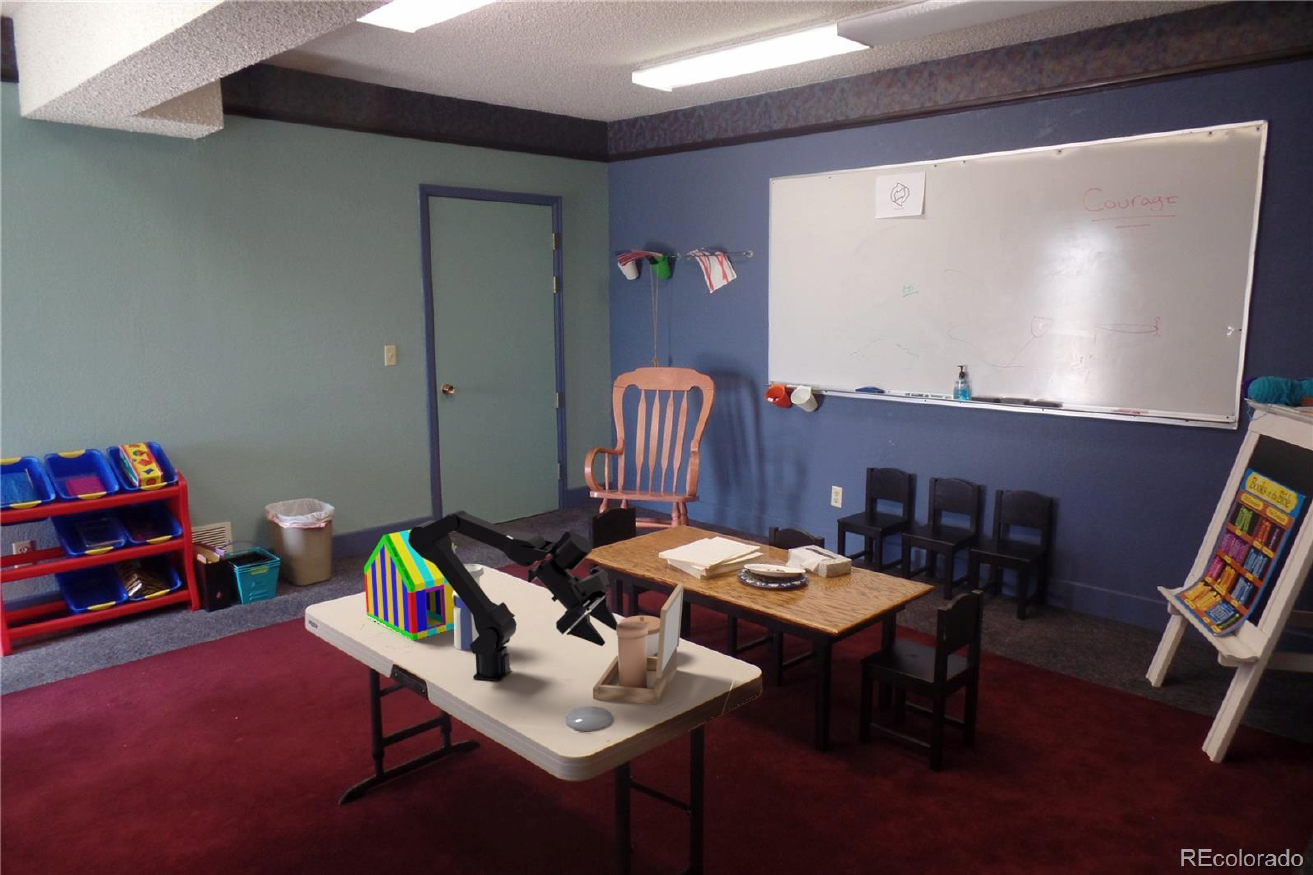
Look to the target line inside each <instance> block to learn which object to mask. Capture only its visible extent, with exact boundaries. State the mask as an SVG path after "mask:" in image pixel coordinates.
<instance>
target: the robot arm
mask: <svg viewBox="0 0 1313 875" xmlns="http://www.w3.org/2000/svg"><path fill="white" fill-rule="evenodd" d="M410 530H411V531H410V533H409V539H408V542H409V544H410V546H411V547H412V548H413V549H414V550H415V551H416V552H417V553H418V554H419V555H420V556H421V557H422V558H424V559H426V560H428V561H430V562H432V563H433V564H435V565H436V567H437V568H438V569H439V571H440V572H441V573H442V575H443V576H444V577H445V579H446V580H447V581H448V583H449V584H450V585H451V587H452V588H453V589H454V591H455V592H456V593H457V595H458V596H459V597H460V599H461V600H462V601H463V603H464V604H465V605H466V607H467V608H468V609H469V611H470V612H471V613H472V615H473V618H474V624H475V629H476V631H477V633H478V634H479V636H478V637H477V638H476V639H475V640H474V641H473V642H472V643H471V644H470V647H471V650H470V651H471V653H472V654H473V655H475V669H476V670H475V672H476V673H475V674H474V675H473V676H472V678H473V679H475V680H485V681H497V682H499V681H502V680H503V679H504V677H506V676H507V674H508V673H510V671H512V668H511V665H510V663H511V662H510V653H508V646H507V645H506V644H509V643H510V640H511V637H513V636H514V634H515V633H516V631H517V625H518V624H517V621H516V620H515V618H514V617H515V616H516V615H515V613H512V611H510V609H509V607H508V606H507V604H506V603H505V602H503V601H502V602H501V603H499V604H497V603H496V602H493V601H492V600H491V599H490V598H489V597H488V595H486V593H485V592H484V590H483V588H482V587H481V585H480V586H479V585H478V584H477V582H476V581H475V580H474V578H473V577H472V576H471V574H470V573H469V572H468V570H467V569H466V568H465V566H464V565H463V564H464V563H462V561H461V560H460V559H459V557H458V556H457V555H456V552H455V553H454V552H453V550H452V539H451V537H450V534H451V533H453V532H455V533H458V534H460V535H463V536H465V537H468V538H470V539H472V540H475V541H477V542H480V543H482V544H485V545H488V546H490V547H492V548H495V549H497V550H499V551H501V552H502V553H503V554H504V555H505V556H506V557H507V558H508V559H509V560H510V561H512V562H514V563H515V564H516V565H519V566H520V567H522V568H523V567H525V568H527V567H528V568H529V567H530V566H532V565H535V564H536V563H537V562H539V561H540V563H539V564H538V565H537V566H536V567H531V568H529V569H527V574H528V576H527V582H528V584H530V583H532V582H533V581H535V580H537V579H538V580H539V581H540V582H541V584H542V585H543V586H544V587H545V589H547V590H548V591H549V592H550V593H551V594H552V597H551V600H552V601H553V602H554V603H555V602H557V601H558V602H559V603H560V604H561V605H562V606H563V607H564V608H565V609H566V611H565V612H564V614H563V615H562V616H561V617H560V618H559V619H558V620H556V621H555V627H556V630H557V631H558V632H559V633H560V634H561V635H564V634H565V633H566V635H567V636H569V635H570V636H573V637H577V638H579V639H581V640H584V641H587V642H590V643H592V644H595V645H597V646H600V647H604V645H606V641H605V640H604V638H603V637H602V635H601V634H600V633H599V631H598V630H597V629H596V627H595V625H593V624H592V622H591V617H592V618H594V619H595V620H597V621H598V622H600V623H602V624H603V625H605V626H606V627H608V628H609V629H612V630H613V631H615V632H616V625H617V624H619V623H618V622H617V620H616V617H615V615H614V614H613V612H612V609H611V607H610V604H609V602H610V596H611V594H610V591H611V589H610V588H609V587H608V586H609V585H610V582H609V579H608V576H609V573H608V572H607V571H606V570H605V569H603V568H602V567H600V566H599V565H598V566H595V567H593V568H592V569H591V570H590V575H588V576H586V577H584V578H582V577H581V576H580V575H577V574H576V575H575V576H573V574H572V573H570V572H569V571H568V570H571V571H572V570H576V568H577V567H578V566H579V565H580V564H581V563H582V562H583V561H584V560H585V559H586V558H587V557H588V556H589V555H590V554H591V553H592V551H593V546H592V544H591V543H590V542H589V540H588V539H587V538H586V537H584V536H582V535H581V534H579V533H578V532H577V533H576V532H574V531H573V530H572V529H568V530H566V531H564V533H563V534H562V536H561V538H560V539H559V540H558V541H552V540H549V539H545V538H544V537H543V536H541V535H540V534H536V533H531V532H528V531H527V532H526V531H513V530H510V529H506V528H505V527H502V526H499V525H497V524H494V523H492V522H490V521H487V520H484V519H482V518H480V517H477V516H474V515H472V514H469V513H468V512H466V510H463V509H458V510H455V511H452V512H450V513H447V514H446V515H445V516H444V517H442V518H440V519H438V520H433V519H432V520H428V521H427V522H423V523H421V524H419V525H416V526H414V527H413V528H412V529H410ZM549 556H552V557H551V558H549V560H548V559H546V558H548V557H549ZM607 585H608V586H607ZM480 587H481V588H480ZM586 612H587V613H586ZM590 616H591V617H590ZM568 630H569V631H568ZM567 631H568V632H567Z"/></svg>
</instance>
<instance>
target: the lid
mask: <svg viewBox="0 0 1313 875" xmlns="http://www.w3.org/2000/svg"><path fill="white" fill-rule="evenodd" d="M684 585H685V584H684V583H681V582H679V583H678V584H677V586H675V588H674V590H673V591H672V593H671V594H670V596H669V597H668V599H667V600H666V602H665V603H664V605H663V606H662V607H661V609H660V629H659V642H658V652H657V656H656V657H657V669H656V678H661V677H662V671H663V669H664V668H665V666H666V664H667V662H668V660H669V659H670V657H671V655H672V653H673V652H674V650H675V648H676V647H677V648H678V647H679V646H680V637H681V624H682V622H681V621H682V611H683V600H684V599H683V598H684V597H683V596H684V588H685V586H684Z"/></svg>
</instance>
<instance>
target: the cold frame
mask: <svg viewBox="0 0 1313 875" xmlns="http://www.w3.org/2000/svg"><path fill="white" fill-rule="evenodd" d="M677 648H678V647H676V648H675V650H674V652H673V653H672V655H671V657H670V659H669V660H668V662H667V664H666V666H665V668H664V669H663V671H662V677H661V678H656V669H657V656H647V689H646V688H634V687H622V686H619V667H618V655H616V656H615V657H614V659H613V660H612V661H611V663H610V664H608V667H607V668H606V669H605V671H604V672H603V673H602V675H601V677H600V678H599V679H598V681H597V682H596V683H595V685H594V686H593V688H592V699H594V700H602V701H615V702H626V703H627V702H628V703H637V704H639V703H640V704H649V705H660V703H661V701H662V699H663V697H664V696H665V694H666V692H667V690H668V688H669V686H670V685H671V682H672V681H673V679H674V676H675V675H676V673H677V671H678V660H677V658H678V656H677V653H678V652H677V650H678V649H677Z"/></svg>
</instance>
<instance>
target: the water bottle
mask: <svg viewBox="0 0 1313 875" xmlns="http://www.w3.org/2000/svg"><path fill="white" fill-rule="evenodd" d="M454 544H455V543H451V545H452V550H453V552H454V553H455V554H456V549H457V547H458V546H457V545H454ZM462 564H463V565H464V566H465V568H466V569H467V570H468V572H469V573H470V574H471V576H472V577H473V578H474V580H475V581H476V582H477V584H478V585H479V586H480V588H481V589H482V587H481V584H480V578H481V577H482V576H483V575H484V573H485V572H484V567H483V565H481V564H478V563H477V564H476V563H462ZM452 605H453V606H454V607H455V608H454V629H453V631H454V632H453V634H454V636H453V637H454V638H453V642H454V643H453V645H454V648H455V649H457V650H461V651H472V650H471V647H470V644H471V643H472V642H473V641H474V640H475V639H476V638H477V637H478V636H479V634H478V633H477V631H476V629H475V624H474V618H473V615H472V613H471V612H470V611H469V609H468V608H467V607H466V605H465V604H464V603H463V601H462V600H461V599H460V597H459V596H458V595H457V593H456V592H455V591H454V592H453V595H452Z"/></svg>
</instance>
